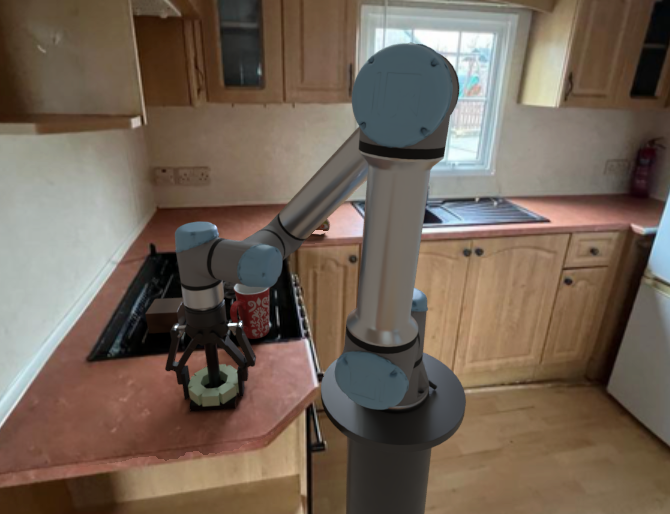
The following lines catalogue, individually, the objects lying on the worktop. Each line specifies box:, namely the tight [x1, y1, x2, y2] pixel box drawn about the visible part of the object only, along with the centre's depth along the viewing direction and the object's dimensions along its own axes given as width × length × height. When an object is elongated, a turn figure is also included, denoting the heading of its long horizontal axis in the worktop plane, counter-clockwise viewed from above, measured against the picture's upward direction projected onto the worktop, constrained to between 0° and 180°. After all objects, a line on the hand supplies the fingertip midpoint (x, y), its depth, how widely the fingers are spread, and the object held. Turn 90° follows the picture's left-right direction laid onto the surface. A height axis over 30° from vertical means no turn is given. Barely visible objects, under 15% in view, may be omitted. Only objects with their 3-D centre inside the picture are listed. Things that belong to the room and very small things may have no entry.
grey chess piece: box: [223, 281, 237, 299], centre depth 126 cm, size 6×6×12 cm
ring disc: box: [188, 363, 239, 406], centre depth 86 cm, size 10×10×2 cm
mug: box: [229, 284, 271, 340], centre depth 105 cm, size 13×9×14 cm
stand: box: [188, 343, 239, 413], centre depth 85 cm, size 9×9×14 cm
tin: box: [316, 218, 331, 232], centre depth 180 cm, size 15×3×8 cm, turn 76°
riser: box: [144, 297, 186, 334], centre depth 111 cm, size 8×8×6 cm
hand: (215, 393), depth 87 cm, fingers open, 10 cm apart
